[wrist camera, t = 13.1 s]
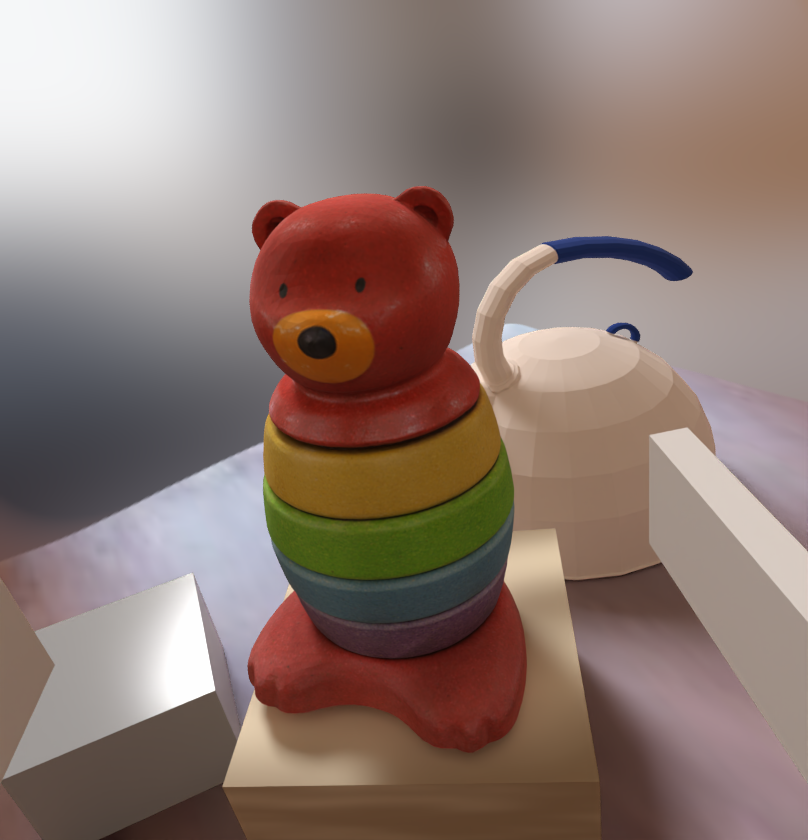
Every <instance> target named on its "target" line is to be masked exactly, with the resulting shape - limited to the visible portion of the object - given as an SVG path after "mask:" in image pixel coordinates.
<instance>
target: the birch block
mask: <svg viewBox="0 0 808 840" xmlns="http://www.w3.org/2000/svg"><path fill="white" fill-rule="evenodd" d="M504 582H505V583H506V585H507V587H508V588H509V590H510V592H511V594H512V596H513V598H514V601H515V603H516V606H517V608H518V611H519V614H520V617H521V621H522V625H523V630H524V636H525V644H526V654H527V673H526V685H525V690H524V696H523V701H522V704H521V707H520V711H519V714H518V717H517V720H516V722H515V724H514V726H513V727H512V729H511V730H510V731H509V732H508V733H507V734H506V735H505V736H504V737H503V738H501V739H499V740H497V741H494V742H490V743H488V744H487V745H485V746H484V747H483V748H481V749H479V750H477V751H475V752H473V753H467V752H463V751H460V750H458V749H449V748H438V747H434V746H432V745H430V744H428V743H427V742H425V741H423V740H422V739H421V738H420V737H419V736H418V735H417V734H416V733H415V732H414V731H413V730H412V729H411V728H410V727H409V726H408V725H406V724H405V723H404V722H403V721H402V720H400V719H399V718H398V717H396V716H394V715H392V714H390V713H387V712H385V711H382V710H379V709H375V708H372V707H367V706H361V705H338V706H331V707H326V708H322V709H318V710H314V711H310V712H306V713H297V714H293V713H285V712H282V711H280V710H279V709H278V708H276V707H271V706H267V705H264V704H262V703H261V702H260V701H258V699H257V698H256V695H255V689H254V692H253V695H252V698H251V701H250V704H249V707H248V710H247V713H246V716H245V719H244V722H243V725H242V729H241V732H240V735H239V738H238V741H237V744H236V747H235V750H234V753H233V756H232V759H231V762H230V765H229V768H228V771H227V774H226V777H225V780H224V783H223V786H222V788H223V790H224V792H225V794H226V796H227V798H228V800H229V802H230V805H231V807H232V809H233V811H234V813H235V815H236V817H237V819H238V821H239V824H240V826H241V828H242V830H243V832H244V834H245V836H246V838H247V840H602V839H601V803H600V780H599V774H598V768H597V762H596V757H595V751H594V745H593V740H592V734H591V728H590V723H589V717H588V711H587V706H586V700H585V694H584V689H583V683H582V677H581V672H580V666H579V660H578V655H577V649H576V643H575V637H574V632H573V626H572V620H571V615H570V609H569V603H568V598H567V592H566V586H565V581H564V575H563V569H562V564H561V558H560V552H559V547H558V541H557V535H556V530H555V528H553V529H539V530H524V531H513V532H512V540H511V546H510V551H509V554H508V561H507V567H506V572H505V577H504ZM293 591H294V590H293V589H292V587H291V585H290V584H289V586H288V589H287V592H286V595H285V598H284V601H285V599H286V598H287V597H288V596H289V595H290V594H291V593H292V592H293ZM284 601H283V602H284Z"/></svg>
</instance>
